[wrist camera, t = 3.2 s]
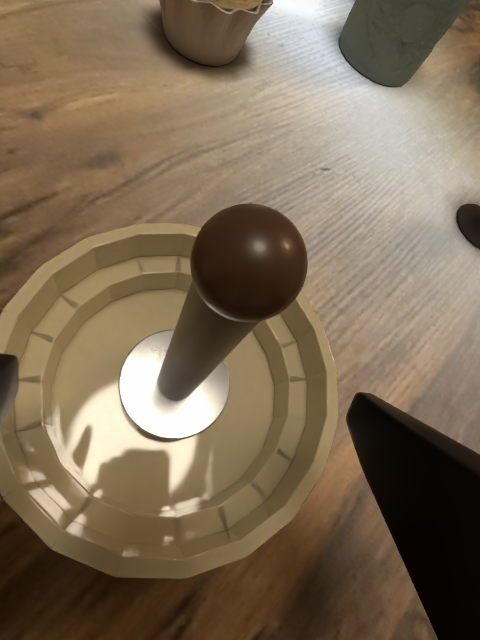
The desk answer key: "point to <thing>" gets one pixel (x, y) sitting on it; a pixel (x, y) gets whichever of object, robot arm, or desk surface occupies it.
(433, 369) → the desk surface
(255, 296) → the ball-topped joystick
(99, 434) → the bowl
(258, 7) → the cupcake
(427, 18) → the green cup
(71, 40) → the desk surface
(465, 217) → the sundae
